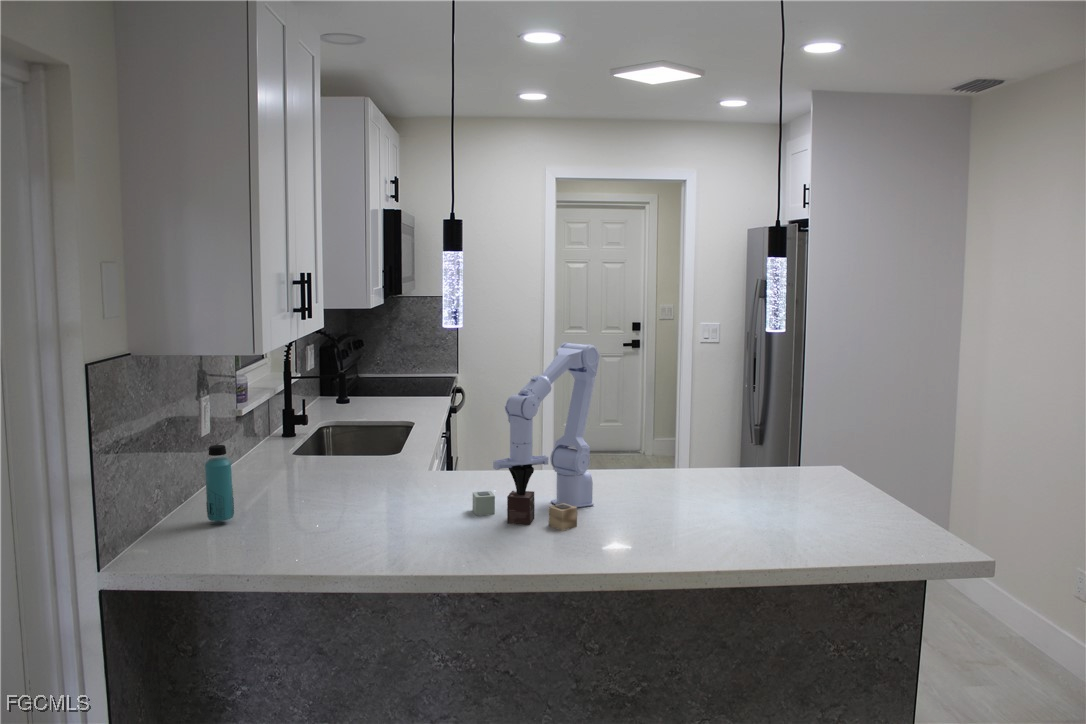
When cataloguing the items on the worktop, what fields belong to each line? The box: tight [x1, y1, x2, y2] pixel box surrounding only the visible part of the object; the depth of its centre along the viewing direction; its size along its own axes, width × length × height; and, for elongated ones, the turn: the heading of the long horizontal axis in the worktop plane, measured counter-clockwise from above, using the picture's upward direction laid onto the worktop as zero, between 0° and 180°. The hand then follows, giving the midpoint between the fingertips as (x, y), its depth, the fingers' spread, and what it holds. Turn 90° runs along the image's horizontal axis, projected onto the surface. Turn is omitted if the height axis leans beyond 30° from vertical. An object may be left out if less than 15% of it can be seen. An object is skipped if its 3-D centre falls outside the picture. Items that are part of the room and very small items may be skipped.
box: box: [506, 490, 536, 526], centre depth 219 cm, size 6×6×7 cm
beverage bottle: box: [204, 444, 235, 522], centre depth 215 cm, size 6×7×20 cm
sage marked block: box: [472, 490, 496, 516], centre depth 226 cm, size 5×5×5 cm
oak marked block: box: [548, 503, 578, 531], centre depth 215 cm, size 5×5×5 cm
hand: (520, 494), depth 218 cm, fingers closed, pressing on box
